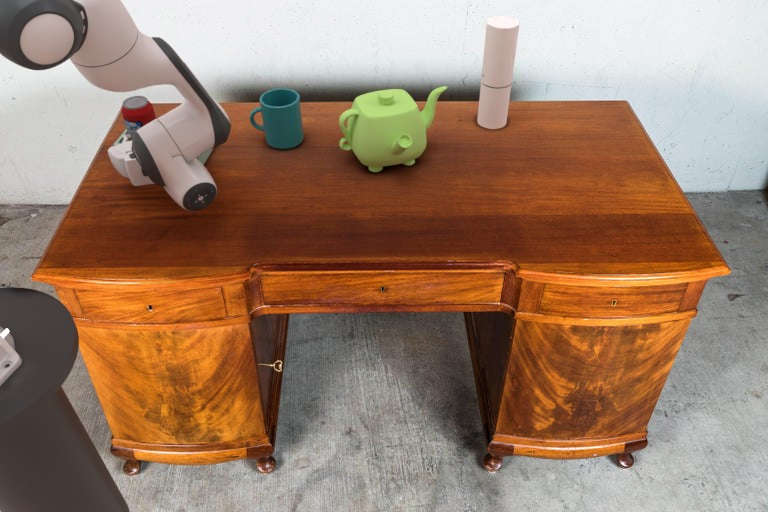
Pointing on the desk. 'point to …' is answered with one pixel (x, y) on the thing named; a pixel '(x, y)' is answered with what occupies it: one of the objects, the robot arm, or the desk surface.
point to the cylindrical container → (497, 71)
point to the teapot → (387, 127)
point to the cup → (280, 118)
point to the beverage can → (137, 113)
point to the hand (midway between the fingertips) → (147, 130)
